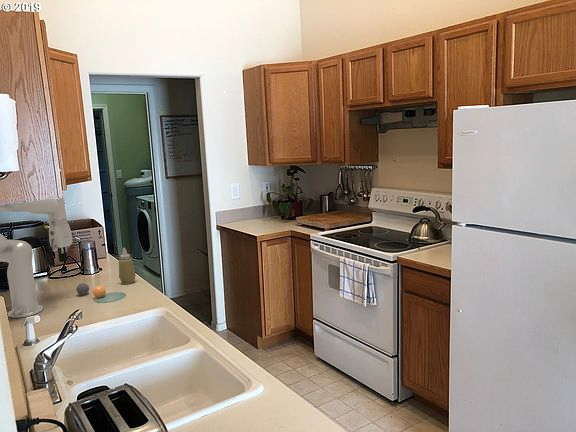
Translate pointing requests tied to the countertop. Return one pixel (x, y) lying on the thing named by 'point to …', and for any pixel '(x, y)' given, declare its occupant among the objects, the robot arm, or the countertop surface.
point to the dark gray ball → (82, 289)
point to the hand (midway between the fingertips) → (63, 261)
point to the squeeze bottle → (126, 268)
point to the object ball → (99, 291)
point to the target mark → (110, 297)
